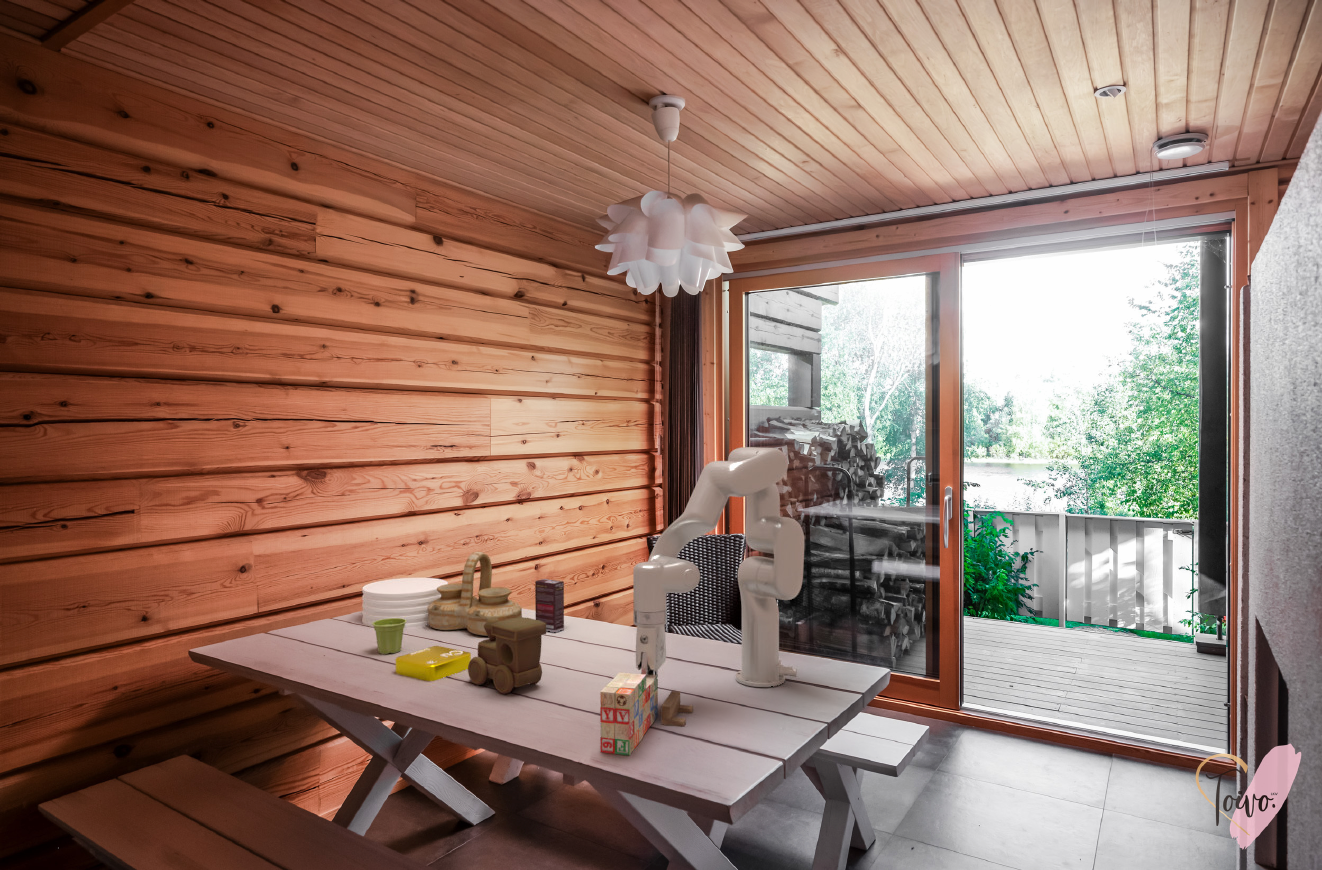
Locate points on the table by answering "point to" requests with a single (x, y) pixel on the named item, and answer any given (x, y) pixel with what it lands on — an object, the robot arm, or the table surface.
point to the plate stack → (400, 600)
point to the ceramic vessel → (472, 601)
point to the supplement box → (550, 603)
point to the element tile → (432, 663)
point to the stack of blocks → (627, 711)
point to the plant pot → (389, 634)
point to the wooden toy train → (509, 653)
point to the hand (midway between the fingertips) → (650, 696)
